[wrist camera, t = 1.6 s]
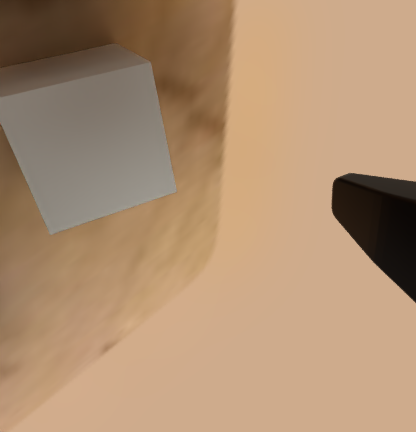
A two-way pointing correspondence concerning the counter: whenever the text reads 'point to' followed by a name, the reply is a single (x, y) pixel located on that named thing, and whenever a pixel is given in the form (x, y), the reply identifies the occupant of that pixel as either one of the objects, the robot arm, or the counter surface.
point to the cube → (86, 133)
